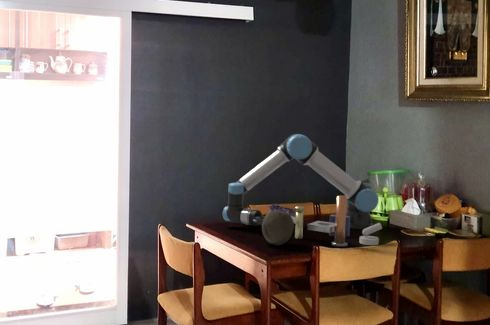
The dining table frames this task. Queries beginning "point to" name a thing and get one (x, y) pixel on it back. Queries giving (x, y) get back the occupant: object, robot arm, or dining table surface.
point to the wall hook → (370, 239)
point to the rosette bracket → (334, 227)
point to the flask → (347, 225)
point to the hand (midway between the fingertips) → (290, 222)
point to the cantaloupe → (277, 227)
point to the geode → (282, 209)
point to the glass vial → (299, 222)
